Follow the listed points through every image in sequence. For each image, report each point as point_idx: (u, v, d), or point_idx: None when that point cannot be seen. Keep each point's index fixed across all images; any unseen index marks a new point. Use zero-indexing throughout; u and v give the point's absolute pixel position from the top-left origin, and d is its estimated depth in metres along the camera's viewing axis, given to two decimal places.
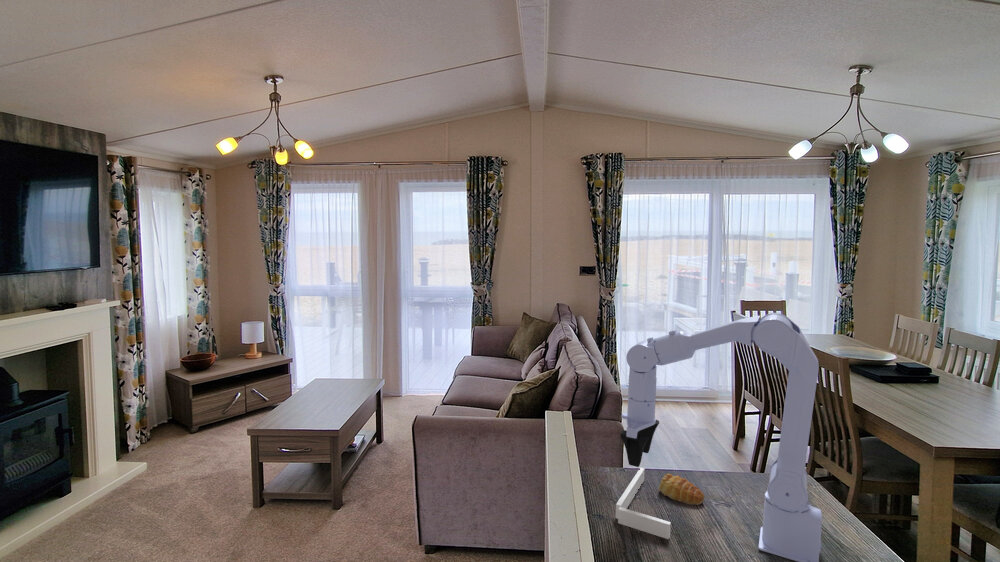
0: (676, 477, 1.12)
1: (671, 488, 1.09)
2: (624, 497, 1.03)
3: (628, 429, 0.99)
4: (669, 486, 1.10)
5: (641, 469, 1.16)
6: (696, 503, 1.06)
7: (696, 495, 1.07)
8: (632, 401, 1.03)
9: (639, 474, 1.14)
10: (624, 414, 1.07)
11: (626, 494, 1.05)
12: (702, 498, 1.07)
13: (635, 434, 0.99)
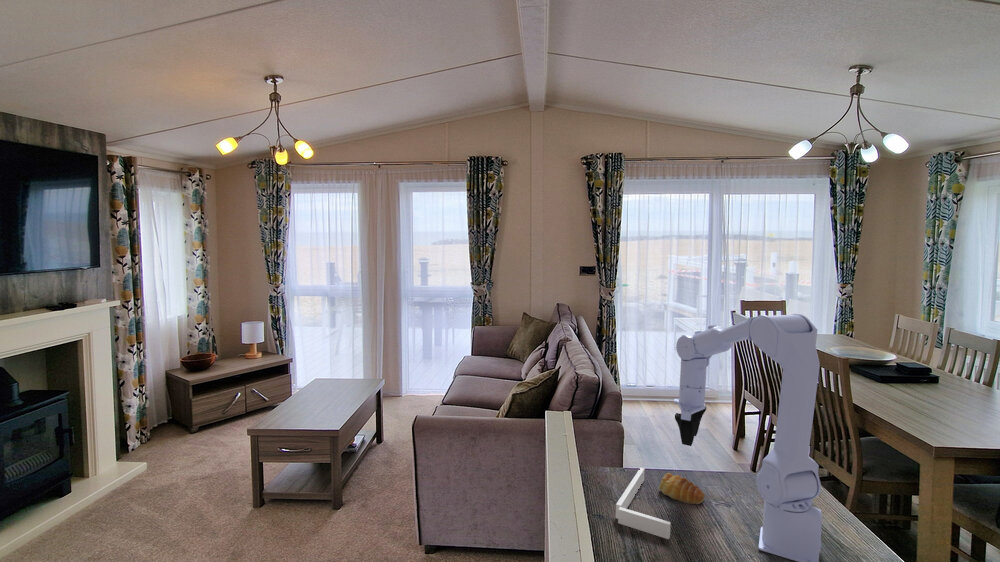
0: (676, 476, 1.12)
1: (672, 487, 1.09)
2: (624, 497, 1.03)
3: (683, 412, 1.11)
4: (670, 485, 1.10)
5: (641, 469, 1.16)
6: (697, 502, 1.07)
7: (697, 494, 1.07)
8: (684, 388, 1.15)
9: (639, 474, 1.14)
10: (676, 400, 1.19)
11: (626, 494, 1.05)
12: (702, 497, 1.07)
13: (689, 417, 1.11)
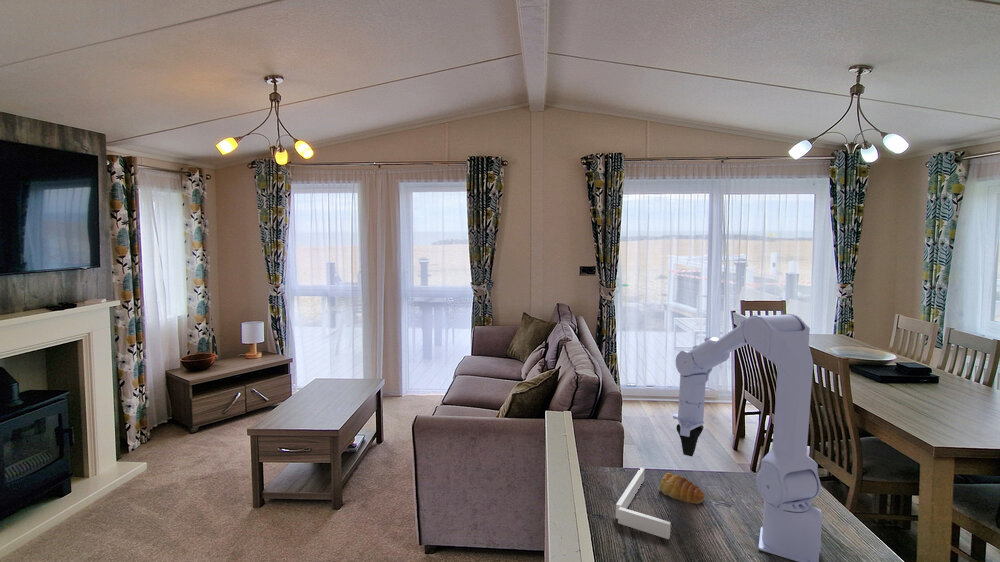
0: (676, 476, 1.12)
1: (672, 487, 1.09)
2: (624, 497, 1.03)
3: (682, 428, 1.12)
4: (670, 485, 1.10)
5: (641, 469, 1.16)
6: (697, 502, 1.07)
7: (697, 494, 1.07)
8: (683, 403, 1.16)
9: (639, 474, 1.14)
10: (675, 415, 1.19)
11: (626, 494, 1.05)
12: (702, 497, 1.07)
13: (688, 433, 1.11)
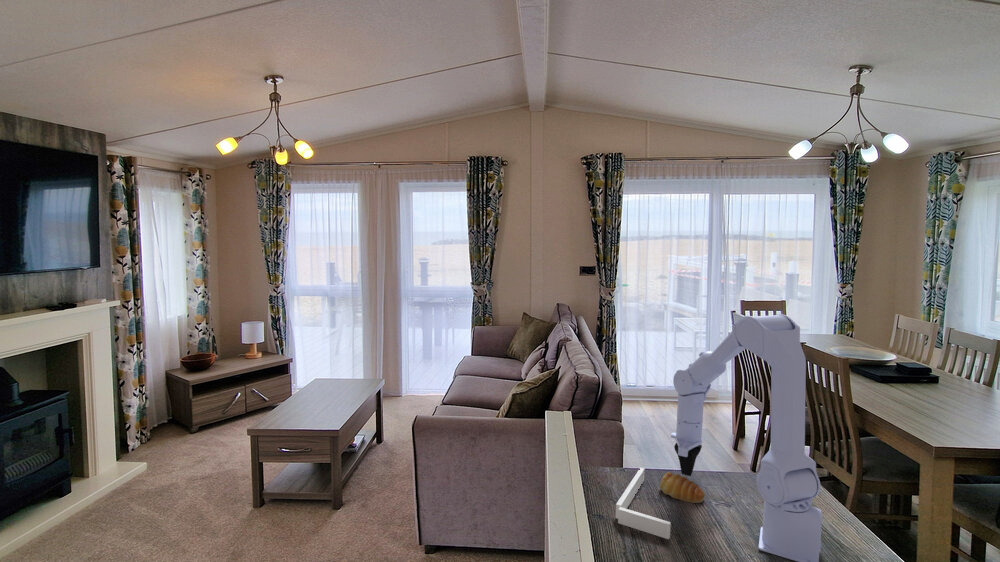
0: (676, 476, 1.13)
1: (672, 486, 1.10)
2: (624, 497, 1.03)
3: (680, 448, 1.11)
4: (670, 484, 1.10)
5: (641, 469, 1.16)
6: (697, 501, 1.07)
7: (697, 493, 1.08)
8: (681, 423, 1.15)
9: (639, 474, 1.14)
10: (673, 434, 1.18)
11: (626, 494, 1.05)
12: (703, 496, 1.08)
13: (686, 453, 1.10)
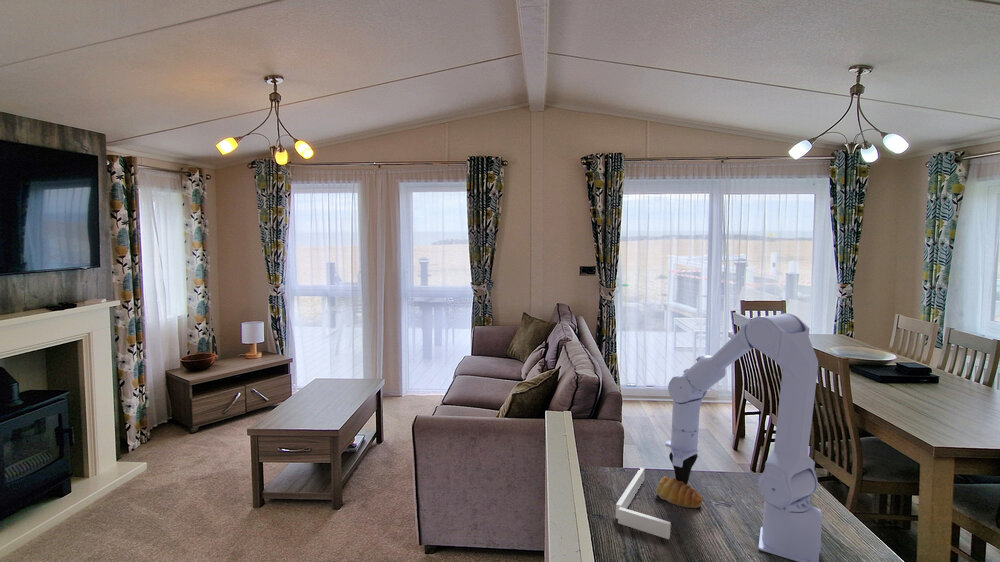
0: (673, 480, 1.10)
1: (669, 491, 1.07)
2: (624, 497, 1.03)
3: (674, 458, 1.06)
4: (667, 489, 1.08)
5: (641, 469, 1.16)
6: (695, 506, 1.05)
7: (695, 498, 1.05)
8: (676, 431, 1.10)
9: (639, 474, 1.14)
10: (667, 442, 1.13)
11: (626, 494, 1.05)
12: (700, 501, 1.05)
13: (681, 463, 1.05)
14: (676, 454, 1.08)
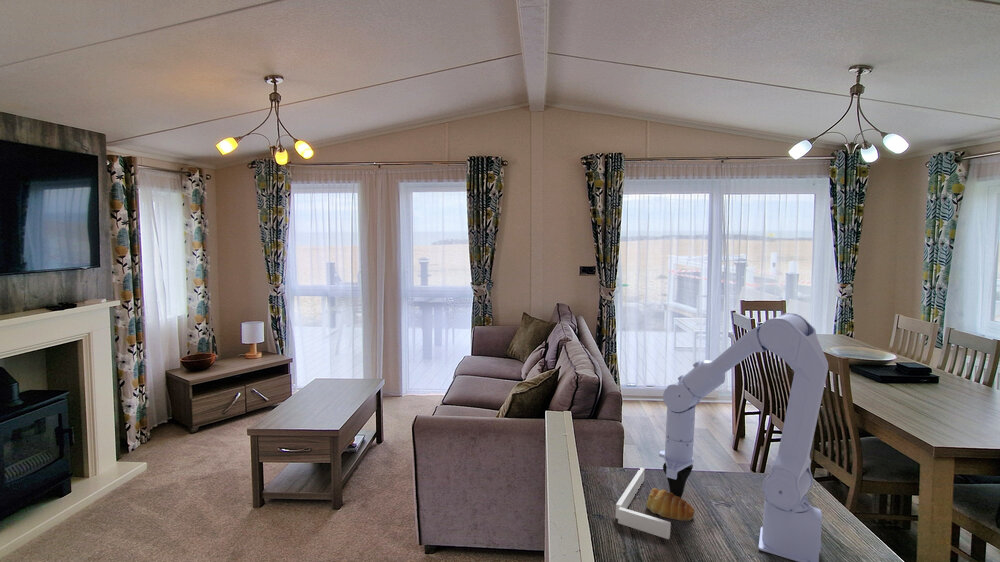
0: (663, 492, 1.05)
1: (661, 504, 1.02)
2: (624, 497, 1.03)
3: (668, 470, 1.01)
4: (658, 502, 1.03)
5: (641, 469, 1.16)
6: (688, 519, 1.00)
7: (687, 510, 1.01)
8: (670, 441, 1.05)
9: (639, 474, 1.14)
10: (661, 452, 1.08)
11: (626, 494, 1.05)
12: (693, 513, 1.01)
13: (675, 475, 1.00)
14: (670, 465, 1.03)
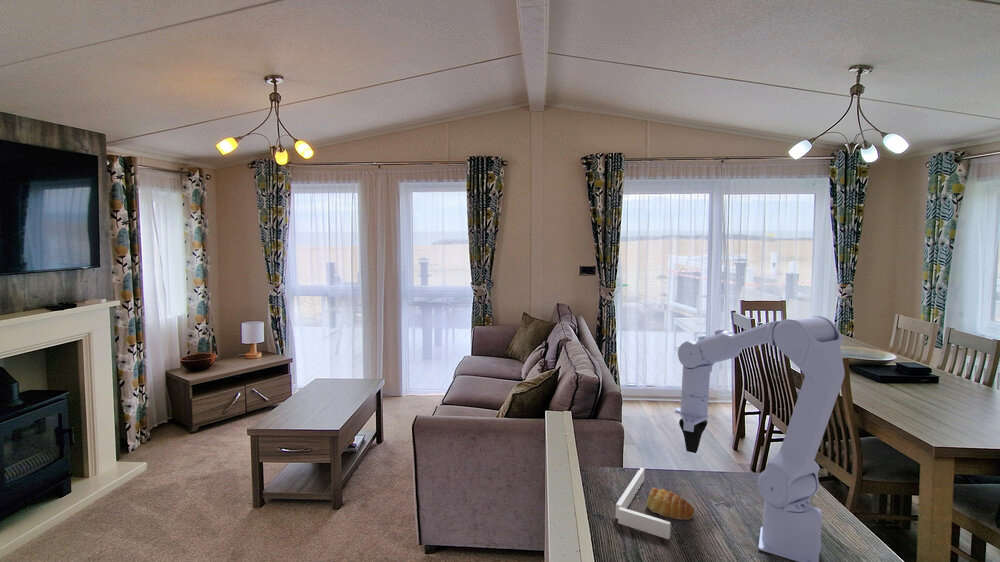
0: (663, 491, 1.06)
1: (661, 504, 1.03)
2: (624, 497, 1.03)
3: (685, 423, 1.05)
4: (658, 501, 1.03)
5: (641, 469, 1.16)
6: (688, 518, 1.01)
7: (687, 509, 1.01)
8: (687, 397, 1.09)
9: (639, 474, 1.14)
10: (677, 409, 1.13)
11: (626, 494, 1.05)
12: (693, 511, 1.02)
13: (692, 428, 1.04)
14: (687, 419, 1.07)
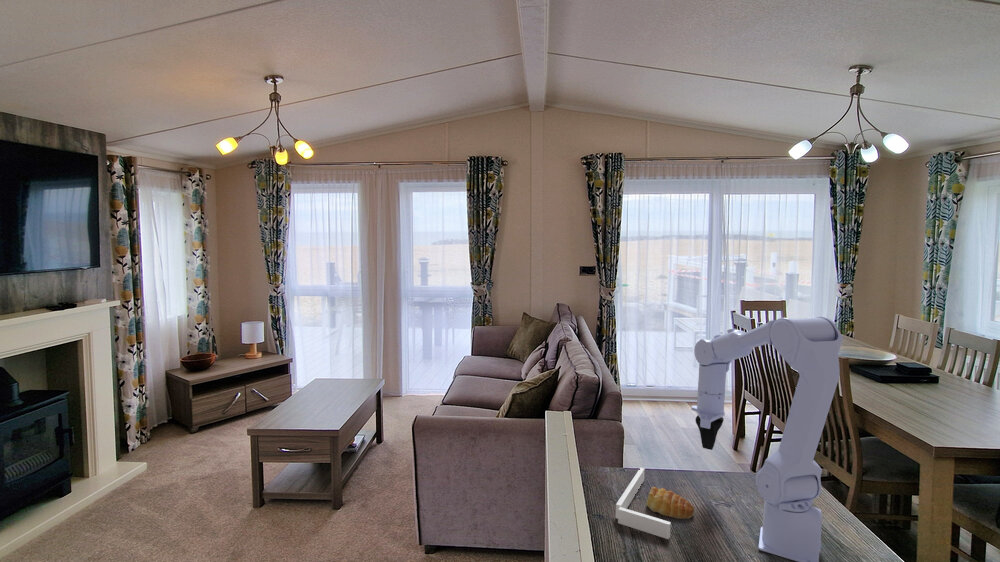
0: (662, 490, 1.06)
1: (661, 503, 1.03)
2: (624, 497, 1.03)
3: (702, 420, 1.07)
4: (659, 501, 1.03)
5: (641, 469, 1.16)
6: (688, 517, 1.01)
7: (687, 508, 1.02)
8: (703, 394, 1.11)
9: (639, 474, 1.14)
10: (693, 406, 1.14)
11: (626, 494, 1.05)
12: (692, 510, 1.02)
13: (709, 424, 1.06)
14: (703, 416, 1.09)
